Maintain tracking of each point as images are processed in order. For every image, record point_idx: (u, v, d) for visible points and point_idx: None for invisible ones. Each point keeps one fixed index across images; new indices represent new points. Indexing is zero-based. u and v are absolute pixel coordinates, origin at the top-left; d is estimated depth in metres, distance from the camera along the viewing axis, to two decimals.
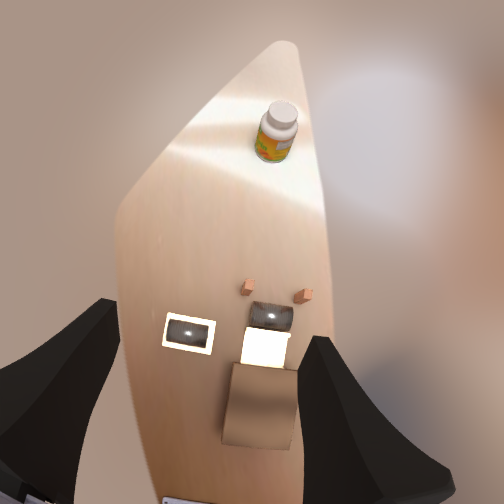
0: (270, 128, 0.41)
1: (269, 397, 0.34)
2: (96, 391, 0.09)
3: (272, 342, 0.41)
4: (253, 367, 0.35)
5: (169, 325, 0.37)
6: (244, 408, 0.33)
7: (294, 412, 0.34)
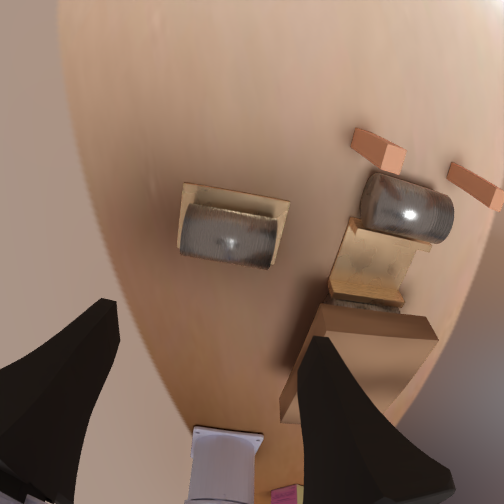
0: None
1: (372, 375, 0.19)
2: (96, 391, 0.09)
3: (393, 248, 0.20)
4: (362, 336, 0.17)
5: (185, 232, 0.17)
6: None
7: (401, 389, 0.20)
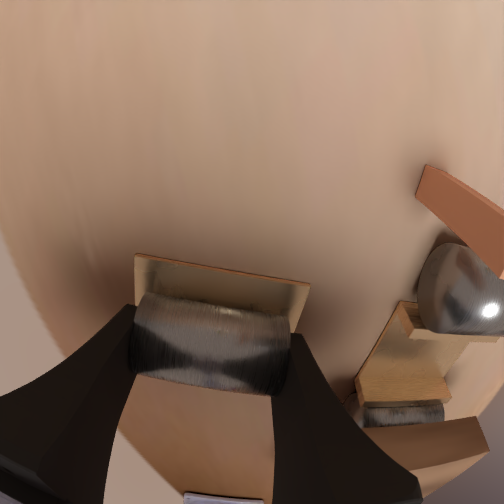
0: None
1: None
2: (123, 399, 0.09)
3: None
4: None
5: (136, 352, 0.09)
6: None
7: (432, 491, 0.12)
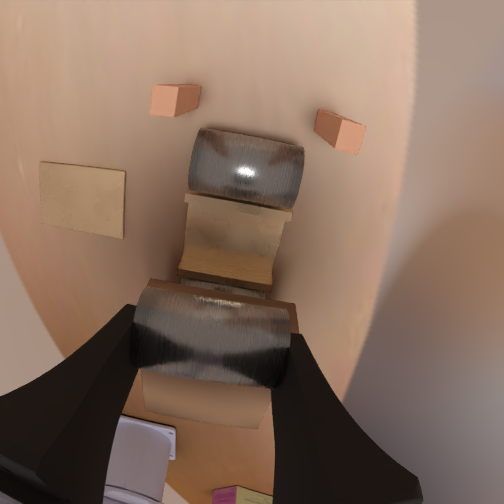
0: None
1: None
2: (123, 399, 0.09)
3: (252, 219, 0.18)
4: None
5: (137, 346, 0.09)
6: (172, 376, 0.17)
7: None
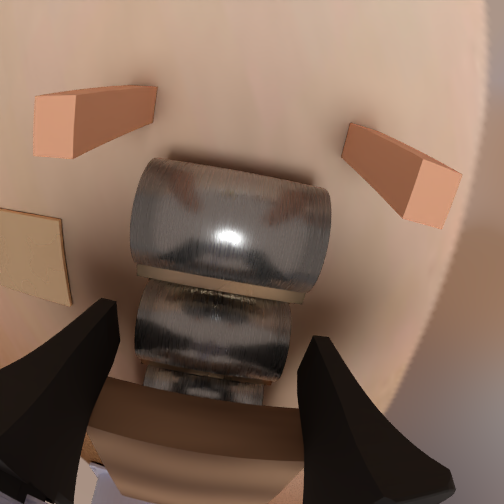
0: None
1: (203, 482, 0.11)
2: (96, 391, 0.09)
3: None
4: (142, 442, 0.09)
5: (141, 335, 0.10)
6: (145, 481, 0.11)
7: (270, 497, 0.12)
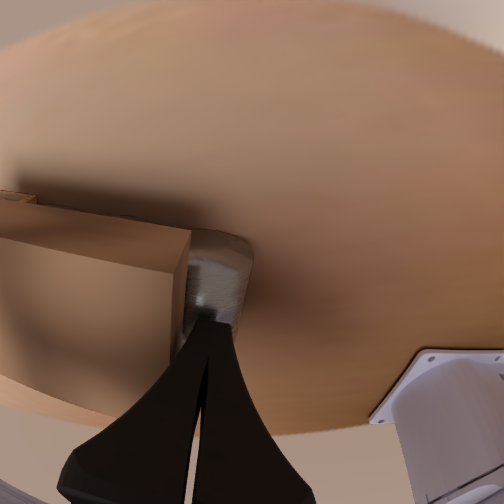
0: None
1: (4, 317, 0.09)
2: (198, 415, 0.10)
3: None
4: None
5: None
6: (53, 375, 0.10)
7: (13, 246, 0.07)
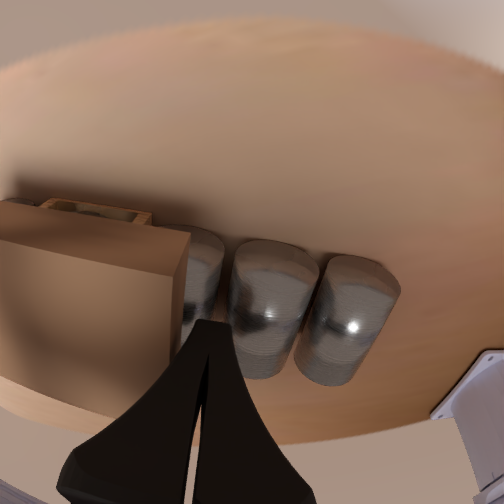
0: None
1: (3, 319, 0.09)
2: None
3: None
4: None
5: None
6: (53, 377, 0.10)
7: (13, 248, 0.07)
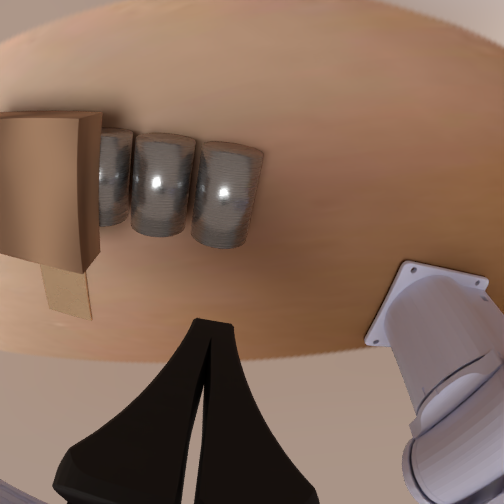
0: None
1: None
2: (195, 414, 0.09)
3: None
4: None
5: None
6: (10, 228, 0.14)
7: (2, 122, 0.11)
